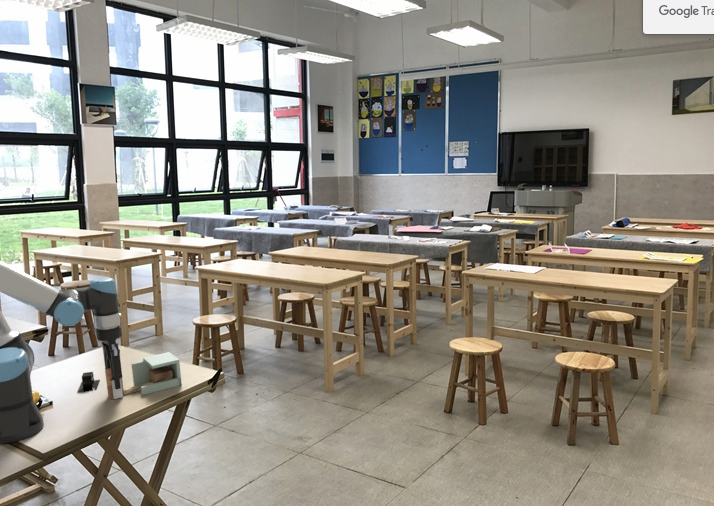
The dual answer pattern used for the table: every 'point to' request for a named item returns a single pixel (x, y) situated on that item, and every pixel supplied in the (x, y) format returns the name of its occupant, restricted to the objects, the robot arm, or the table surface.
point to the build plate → (88, 383)
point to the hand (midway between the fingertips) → (116, 395)
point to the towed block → (155, 377)
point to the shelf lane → (153, 362)
